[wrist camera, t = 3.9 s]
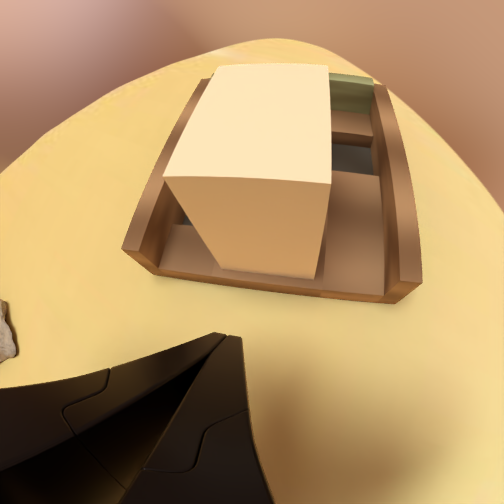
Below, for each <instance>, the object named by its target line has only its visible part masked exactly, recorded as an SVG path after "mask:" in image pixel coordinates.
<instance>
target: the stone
mask: <svg viewBox="0 0 504 504" xmlns="http://www.w3.org/2000/svg"><path fill="white" fill-rule="evenodd" d="M6 313H7V309H6V302H4V301H3V300H1V299H0V362H1V361H4V360H6V359H7V358H13V357H14V356H15V355H16V347H15V344H14V342H13V340H12V332H11V331H10V328H9V326H8V325H7V324H6V322H5V316H6Z"/></svg>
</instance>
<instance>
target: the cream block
mask: <svg viewBox="0 0 504 504" xmlns="http://www.w3.org/2000/svg"><path fill="white" fill-rule="evenodd" d="M163 178H164V180H165V181H166V183H167V185H168V186H169V188H170V189H171V191H172V193H173V194H174V196H175V197H176V199H177V201H178V202H179V204H180V205H181V207H182V208H183V210H184V212H185V213H186V215H187V216H188V218H189V219H190V221H191V223H192V224H193V226H194V227H195V229H196V230H197V232H198V233H199V235H200V236H201V238H202V240H203V241H204V243H205V244H206V246H207V247H208V249H209V250H210V252H211V253H212V255H213V256H214V258H215V259H216V261H217V262H218V264H219V265H220V267H221V268H222V269H227V270H235V271H243V272H251V273H260V274H268V275H277V276H285V277H294V278H303V279H313V280H314V276H315V272H316V267H317V262H318V257H319V252H320V247H321V241H322V236H323V230H324V225H325V219H326V213H327V207H328V201H329V195H330V189H331V110H330V89H329V73H328V66H327V65H314V64H291V63H262V64H239V65H225V66H219V67H218V68H217V70H216V72H215V73H214V75H213V77H212V78H211V80H210V82H209V84H208V85H207V87H206V89H205V91H204V93H203V94H202V96H201V98H200V100H199V102H198V104H197V105H196V107H195V109H194V111H193V113H192V115H191V117H190V119H189V121H188V123H187V125H186V127H185V129H184V131H183V133H182V135H181V137H180V139H179V141H178V143H177V145H176V147H175V149H174V152H173V154H172V156H171V158H170V160H169V163H168V165H167V167H166V169H165V172H164V174H163Z"/></svg>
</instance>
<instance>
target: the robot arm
mask: <svg viewBox="0 0 504 504" xmlns="http://www.w3.org/2000/svg"><path fill="white" fill-rule="evenodd" d="M0 504H276V503H275V501H274V498H273V495H272V493H271V490H270V487H269V484H268V482H267V479H266V476H265V473H264V470H263V468H262V465H261V462H260V459H259V455H258V452H257V448H256V445H255V441H254V436H253V430H252V424H251V416H250V409H249V400H248V391H247V382H246V372H245V363H244V353H243V343H242V338H241V337H238V336H232V335H228V336H227V335H226V334H221V333H216V332H213V333H210V334H208V335H205V336H203V337H200V338H197V339H195V340H192V341H189V342H186V343H184V344H181V345H178V346H175V347H172V348H170V349H167V350H164V351H161V352H158V353H155V354H152V355H149V356H146V357H143V358H140V359H137V360H134V361H131V362H128V363H125V364H121V365H118V366H115V367H112V368H111V370H110V368H107V369H104V370H100V371H97V372H93V373H89V374H86V375H82V376H78V377H73V378H68V379H63V380H58V381H52V382H46V383H40V384H33V385H26V386H18V387H10V388H1V389H0Z"/></svg>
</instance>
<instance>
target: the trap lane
mask: <svg viewBox="0 0 504 504" xmlns="http://www.w3.org/2000/svg"><path fill="white" fill-rule="evenodd" d="M213 75H214V73H213ZM213 75H212V77H213ZM212 77H211V78H212ZM211 78H208V79H201V81H200V83H199V84H198V86H197V88H196V89H195V91H194V93H193V94H192V96H191V98H190V99H189V101H188V103H187V105H186V106H185V108H184V110H183V112H182V113H181V115H180V117H179V119H178V121H177V123H176V124H175V126H174V128H173V130H172V132H171V134H170V136H169V138H168V140H167V142H166V144H165V146H164V148H163V150H162V152H161V154H160V156H159V158H158V160H157V162H156V164H155V166H154V169H153V171H152V173H151V175H150V177H149V180H148V182H147V184H146V186H145V189H144V191H143V193H142V196H141V198H140V201H139V203H138V205H137V208H136V210H135V213H134V215H133V218H132V221H131V223H130V226H129V228H128V231H127V234H126V237H125V239H124V242H123V245H122V248H121V249H122V250H123V251H124V252H125V253H127V254H128V255H129V256H130V257H132V258H133V259H134V260H135V261H137V262H138V263H139V264H140V265H142V266H143V267H144V268H145V269H147V270H148V271H149V272H150V273H152V274H154V275H160V276H166V277H172V278H179V279H185V280H191V281H198V282H205V283H212V284H218V285H226V286H233V287H240V288H247V289H255V290H263V291H271V292H279V293H287V294H296V295H305V296H314V297H323V298H333V299H343V300H353V301H364V302H376V303H388V304H396V303H397V302H398V301H400V300H401V299H402V298H404V297H405V296H406V295H408V294H409V293H410V292H411V291H413V290H414V289H415V288H417V287H418V286H419V285H420V284H422V262H421V248H420V237H419V228H418V220H417V212H416V205H415V199H414V193H413V187H412V182H411V176H410V171H409V167H408V162H407V158H406V153H405V149H404V145H403V141H402V137H401V133H400V130H399V126H398V123H397V119H396V116H395V113H394V109H393V106H392V103H391V100H390V97H389V94H388V91H387V88H386V86H385V85H379V84H374V83H373V79H372V78H367V77H361V76H354V75H346V74H337V73H329V89H330V110H331V189H330V195H329V201H328V207H327V213H326V219H325V225H324V230H323V236H322V241H321V247H320V252H319V257H318V262H317V267H316V272H315V276H314V280H313V279H303V278H294V277H285V276H277V275H268V274H260V273H251V272H243V271H235V270H227V269H222V268H221V267H220V265H219V264H218V262H217V261H216V259H215V258H214V256H213V255H212V253H211V252H210V250H209V249H208V247H207V246H206V244H205V243H204V241H203V240H202V238H201V236H200V235H199V233H198V232H197V230H196V229H195V227H194V226H193V224H192V223H191V221H190V219H189V218H188V216H187V215H186V213H185V212H184V210H183V208H182V207H181V205H180V204H179V202H178V201H177V199H176V197H175V196H174V194H173V193H172V191H171V189H170V188H169V186H168V185H167V183H166V181H165V180H164V178H163V174H164V172H165V169H166V167H167V165H168V163H169V160H170V158H171V156H172V154H173V152H174V149H175V147H176V145H177V143H178V141H179V139H180V137H181V135H182V133H183V131H184V129H185V127H186V125H187V123H188V121H189V119H190V117H191V115H192V113H193V111H194V109H195V107H196V105H197V104H198V102H199V100H200V98H201V96H202V94H203V93H204V91H205V89H206V87H207V85H208V84H209V82H210V80H211Z"/></svg>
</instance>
